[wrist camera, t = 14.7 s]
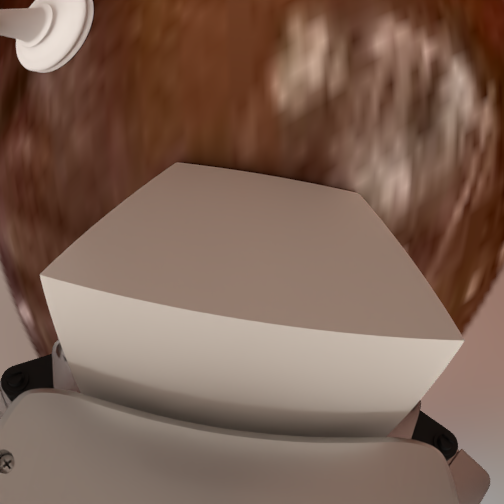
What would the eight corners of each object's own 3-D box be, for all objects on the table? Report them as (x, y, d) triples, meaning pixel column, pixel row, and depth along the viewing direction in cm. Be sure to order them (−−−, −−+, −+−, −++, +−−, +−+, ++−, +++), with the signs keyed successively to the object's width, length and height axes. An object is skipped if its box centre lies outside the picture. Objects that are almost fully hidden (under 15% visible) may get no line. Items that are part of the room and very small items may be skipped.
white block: (304, 357, 17) (311, 499, 9) (171, 336, 17) (125, 472, 9) (359, 193, 12) (465, 340, 4) (176, 162, 12) (39, 274, 4)
